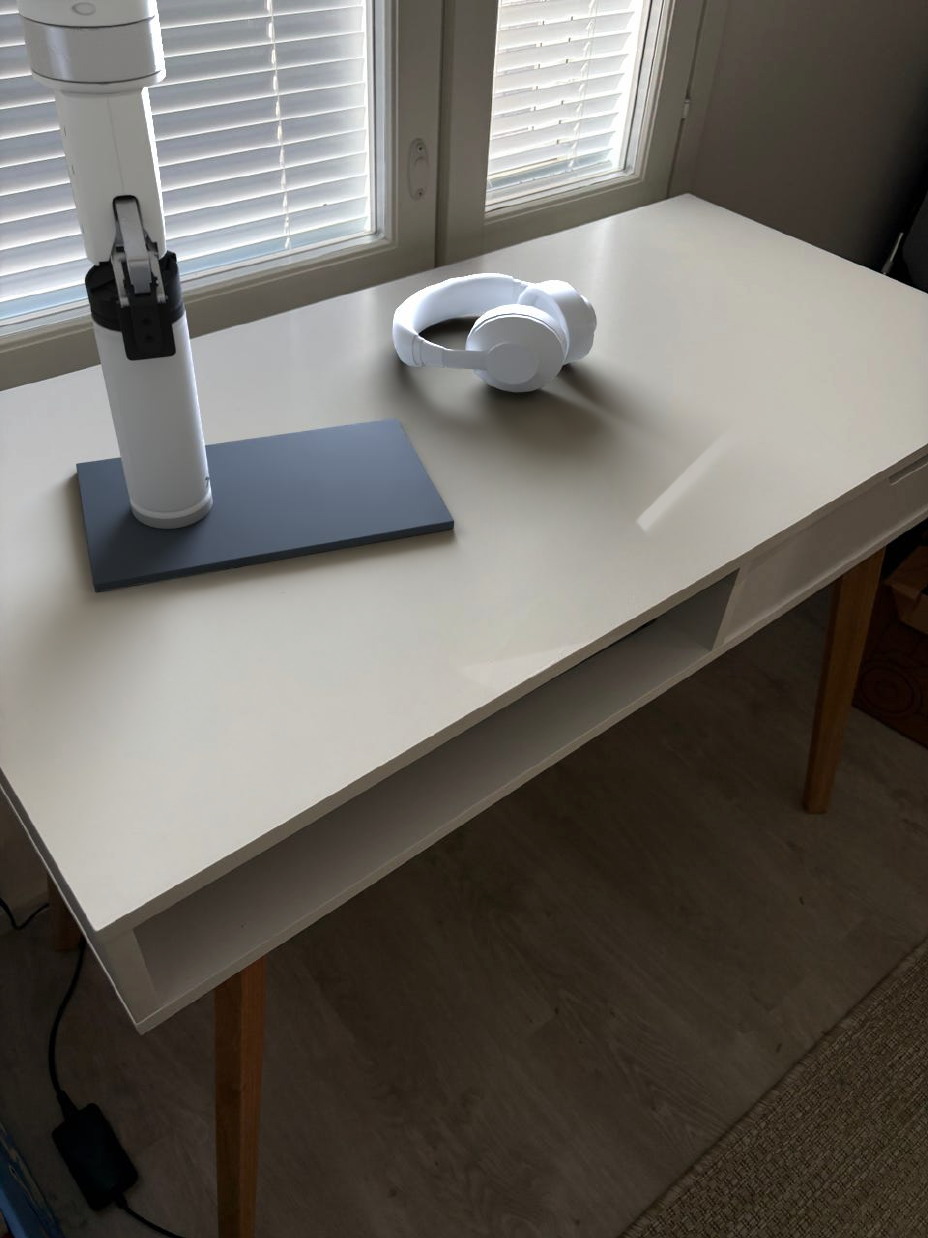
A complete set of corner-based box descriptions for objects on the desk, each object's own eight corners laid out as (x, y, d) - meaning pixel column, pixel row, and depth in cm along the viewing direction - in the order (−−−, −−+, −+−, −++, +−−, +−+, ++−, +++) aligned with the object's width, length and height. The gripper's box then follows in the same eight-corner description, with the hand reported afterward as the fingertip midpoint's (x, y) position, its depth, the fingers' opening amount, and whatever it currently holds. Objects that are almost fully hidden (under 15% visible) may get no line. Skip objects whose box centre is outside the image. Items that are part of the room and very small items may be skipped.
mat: (95, 592, 74) (92, 584, 74) (77, 471, 85) (75, 463, 84) (454, 528, 82) (454, 520, 81) (396, 424, 93) (396, 417, 92)
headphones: (624, 348, 104) (466, 314, 114) (627, 273, 99) (462, 244, 109) (528, 422, 93) (361, 377, 103) (526, 341, 88) (352, 302, 98)
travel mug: (232, 499, 82) (202, 260, 68) (173, 540, 78) (128, 294, 64) (175, 472, 84) (135, 235, 70) (115, 511, 80) (60, 267, 66)
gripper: (20, 11, 63) (76, 275, 75) (34, 96, 52) (98, 393, 63) (143, 8, 65) (179, 266, 77) (183, 89, 54) (219, 378, 65)
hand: (142, 323), depth 70 cm, fingers open, 9 cm apart
